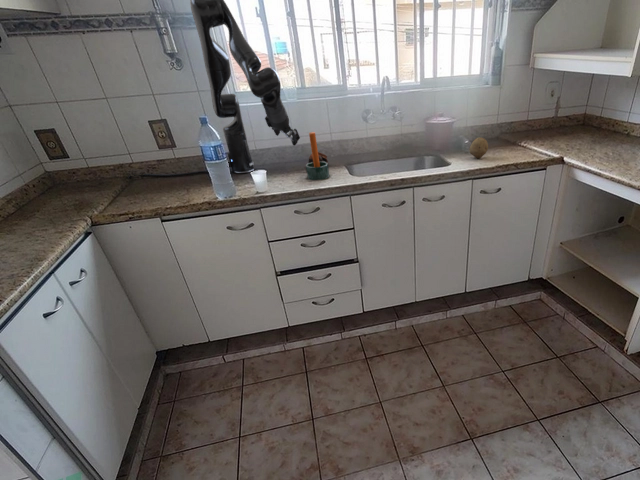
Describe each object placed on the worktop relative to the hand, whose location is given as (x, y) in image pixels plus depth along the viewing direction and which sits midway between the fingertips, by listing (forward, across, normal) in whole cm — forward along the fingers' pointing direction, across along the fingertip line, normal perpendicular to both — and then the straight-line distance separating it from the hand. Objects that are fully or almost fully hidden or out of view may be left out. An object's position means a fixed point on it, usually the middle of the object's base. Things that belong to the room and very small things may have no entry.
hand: (286, 138), depth 164 cm
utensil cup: (+13, +16, -3) cm, 20 cm away
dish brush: (+12, +15, -3) cm, 20 cm away
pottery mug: (+25, +8, +6) cm, 27 cm away
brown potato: (+24, +73, +52) cm, 93 cm away
